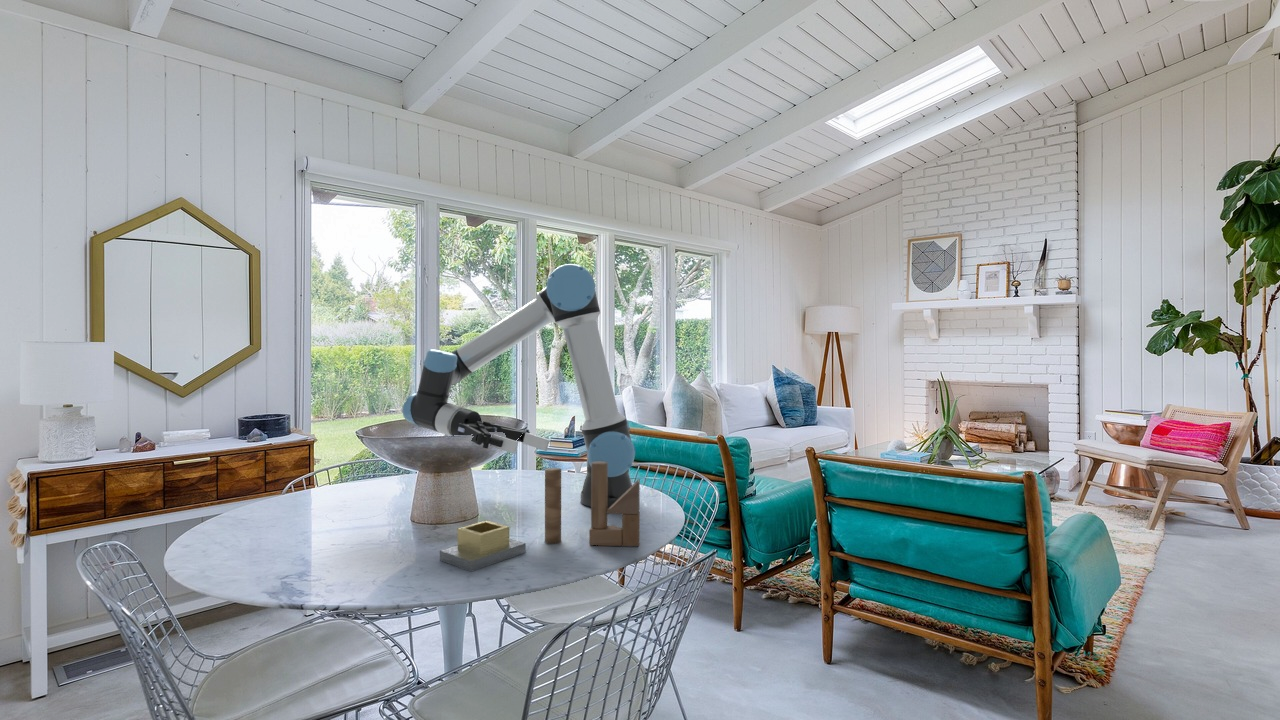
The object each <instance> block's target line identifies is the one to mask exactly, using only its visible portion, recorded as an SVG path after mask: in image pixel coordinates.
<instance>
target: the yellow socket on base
mask: <svg viewBox="0 0 1280 720" xmlns="http://www.w3.org/2000/svg"><path fill="white" fill-rule="evenodd" d="M456 533H457V538H456V539H457V545H454V546H451V547H447V548H444V549H440V550H439V561H440V560H441V561H440V562H443V561H444V563H446V562H447V563H446V564H450V565H451V564H452V566H454V565H455V566H454V567H458V568H460V569H463V570H466V571H468V572H473V571H477V570H480V569H482V568H485V567H488V566H491V565H494V564H496V563H499V562H502V561H505V560H508V559H510V558H514V557H517V556H519V555H523V554H526V553H527V552H526V551H527V550H526V549H527V548H526V546H527V543H526V542H523V541H520V540H517V539H514V538H510V526H509V525H504V524H502V523H501V524H500V523H498V522H493V521H489V520H482V521H479V522H477V523H472V524H468V525H465V526H462V527H458V528H457V532H456Z"/></svg>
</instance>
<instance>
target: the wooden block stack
mask: <svg viewBox="0 0 1280 720" xmlns="http://www.w3.org/2000/svg"><path fill="white" fill-rule="evenodd" d="M640 484H641V482H640V478H638V479H637V480H635V482H634V483H632V486H631V487H630V488H629V489H628V490H627V491H626V492H625V493H624V494H623V495H622V496H621V497H620V498H619V499H618V500H617V501H616V502H615V503H614V504H613V505H611V506H610V507H609V508H607V503H608V464H607V462H604V461H595V462H592V464H591V507H590V515H591V516H590V522H591V523H590V524H591V527H590V528H589V535H588V536H589V539H588V540H589V546H593V545H596V546H597V545H598V546H597V547H599V546H601V547H602V546H603V547H625V546H638V547H639V545H640V532H641V530H640V525H641V524H640V521H641V519H640V516H641V515H640V514H641V513H640V497H641V494H640V490H641V489H640ZM610 514H612V515H615V514H616V515H622V517H621V518H622V521H621V522H622V523H621V524H622V525H621V526H622V527H620V526H617V525H609V524H608V515H610Z"/></svg>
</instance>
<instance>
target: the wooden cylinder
mask: <svg viewBox="0 0 1280 720" xmlns="http://www.w3.org/2000/svg"><path fill="white" fill-rule="evenodd" d="M561 542H562V469H561V468H559V467H550V468H545V469H544V543H545V544H549V543H550V545H551V544H559V543H561Z"/></svg>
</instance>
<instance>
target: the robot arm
mask: <svg viewBox="0 0 1280 720" xmlns="http://www.w3.org/2000/svg"><path fill="white" fill-rule="evenodd" d="M597 297H598V296H597V293H596V283H595V280H594V277H593V275H592V274H591V272H589V270H588V269H587V268H585V267H584V266H582V265H579V264H577V263H576V264H575V263H565V264H562V265H559V266H558V267H556V268H555V269H553V271H552V272H551V273H550V275H548V278H547V279H546V286H545V287H544V288H542V289H541V290H540V291H538V292H536V296H535V298H534V299H533V300H531V301H530V302H527V304H525V305H523V306H522V307H520V308H519V309H517V310H516V311H514V312H512V313H511V314H509V315H508V316H506V317H505V318H503V319H502V320H500V321H499V322H496V323H495V324H494V325H492V326H491V327H489V328H488V329H486V330H485V331H483V332H481V333H480V334H479V335H477V336H475V337H474V338H472V339H470V340H469V341H467V342H466V343H464V344H463V345H461V346H459V347H458V348H456V350H453V351H451V352H448V351H444V350H439V349H434V348H433V349H428V351H427V353H426V356H425V358H424V361H423V367H422V370H421V375H420V378H419V379H420V380H419V385H418V388H417V391H416V393H412V394H411V395H409V396H407V398H406V401H405V402H404V403H403V404H402V405H403V406H402V416H403V418H404V419H405V420H406V421H407V422H409V423H411V424H413V425H416V426H417V427H419V428H424V429H427V430H430V431H432V432H433V431H434V432H437V433H439V434H443V435H444V437H445V436H448V437H451V436H454V435H471V434H473V435H472V436H474V437H473V438H472V440H471V441H470V442H472V443H474V444H476V445H478V446H480V445H482V444H483V445H482V448H483V449H489V447H491V448H494V449H499V450H501V451H504V452H507V453H510V454H512V455H514V454H516V453H517V449H518V447H519V442H520V443H522V444H523V445H526V446H530V447H532V448H535V449H539V450H542V451H548V447H549V443H550V439H549V438H546V437H542V436H539V435H535V434H534V433H531V432H530V430H529V429H528V428H526V429H525V430H523V429H519V428H515V427H511V426H506V425H501V424H498V423H495V422H490V421H487V420H486V421H485V420H482V417H481V415H480V413H479V412H478V411H475V410H472V409H468V408H465V407H463V406H460V405H457V404H453V403H450V402H448V400H449V398H450V397H449V396H450V392H451V388H452V386H455V385H457V384H459V383H460V382H461V381H463V380H464V379H465V378H467V377H468V376H470V375H471V374H472V373H474V372H476V371H477V370H478V369H480V368H481V367H483V366H485V365H486V364H489V362H491V361H493V360H494V359H495V358H498V356H500V355H502V354H503V353H505V352H507V351H508V350H510V349H511V348H513V347H514V346H516V345H517V344H519V343H521V342H523V340H525V339H527V338H528V337H531V335H533V334H535V333H536V332H538V331H539V330H541V329H542V328H544V327H546V326H547V325H548V324H550V323H554V324H555V325H557V326H559V327H560V328H562V329H563V333H564V337H565V338H564V339H565V341H566V346H567V350H568V355H569V359H570V362H571V367H572V370H573V371H572V372H573V374H574V375H573V376H574V379H575V382H576V387H577V391H578V395H579V399H580V402H581V403H580V404H581V407H582V412H583V414H584V422H583V424H582V426H581V429H580V430H581V432H582V436H583V437H582V438H583V440H584V445H585V449H586V475H585V479H584V482H583V486H582V489H581V492H580V504H582V505H584V506H586V507H590V508H591V464H592V462H595V461H604V462H607V464H608V503H607V509H608V508H609V507H610V506H611V505H613V504H614V503H615V502H616V501H617V500H618V499H619V498H620V497H621V496H622V495H623V494H624V493H625V492H626V491H627V490H628V489H629V488H630V487H631V486H632V485H633V483H632V479H631V476H630V468H631V467H632V466H633V463H634V462H635V461H634V460H635V456H636V448H635V444H634V443H633V441H632V437H631V434H630V430H631V429H630V428H631V427H630V423H629V420H628V419H627V417H626V416H625V415H624V414H621V413H620V412H619V409H618V406H617V405H618V404H617V401H616V397H615V393H614V389H613V385H612V380H611V376H610V372H609V368H608V364H607V360H606V355H605V353H604V347H603V344H602V343H603V342H602V339H601V335H600V331H599V327H598V323H597V320H598V318H599V316H600V314H601V310H600V305H599V300H598V298H597ZM495 431H497V432H503V433H505V435H506V437H502V436H499V435H496V434H493V435H492V437H491V434H490V433H489V432H495ZM523 431H524V432H523ZM522 433H523V434H522ZM521 435H522V436H521ZM520 436H521V437H520ZM518 438H519V439H518ZM517 439H518V440H517ZM516 440H517V441H516Z"/></svg>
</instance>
